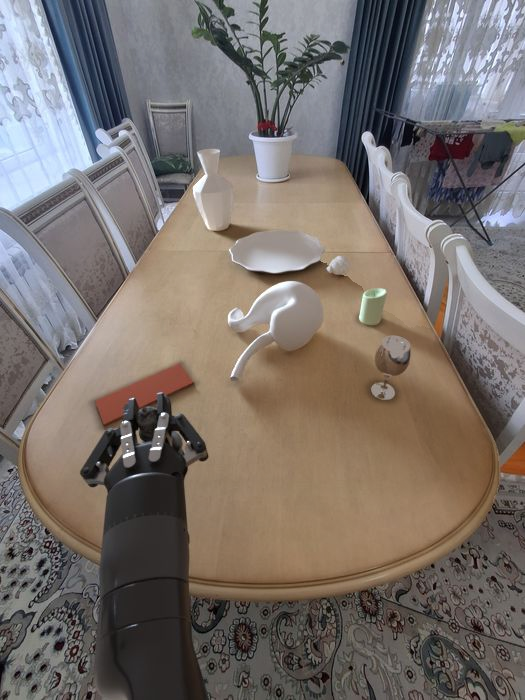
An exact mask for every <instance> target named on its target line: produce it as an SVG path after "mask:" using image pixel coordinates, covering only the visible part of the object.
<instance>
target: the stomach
mask: <svg viewBox="0 0 525 700" xmlns="http://www.w3.org/2000/svg"><path fill="white" fill-rule="evenodd" d="M324 319H325V311H324V305H323V302H322V300H321V298H320V296H319V295H318V293H316V291H315V290H314V289H312V288H311V287H310V286H309V285H307V284H304V283H303V282H300V281H294V280H287V281H282V282H278V283H276V284H274V285H273V286H271V287H269V288H268V289H266V290H265V291H263V293H261V294H260V295H259V296H258V297H257V298H256V300H254V302H253V304H252V306H251V308H250V310H249V311H248V313H247V314H246V315H244V313H243V311H242V310H241V309H240V308H238V307H235V308H234V309H232V310H231V311H230V312H229V313H228V316H227V323H228V326H229V327H230V329H231V330H232V331H233V332H235V333H244V332H247V331H248V330H249V329H251V328H252V327H254V326H255V325H269V330H268V331H267V332H265V333H263V334H261V335H259V336H258V337H257V338H255V340H253V341H252V342H251V343H250V345H249V346H247V348H246V349H245V350H244V352H242V354H241V355H240V357H239V358H238V360H237V362H236V364H235V366H234V367H233V370H232V372H231V374H230V377H229V380H230V381H231V382H234V383H237V382H239V380H240V378H241V376H242V374H243V371H244V369H245V367H246V365H247V364H248V362H249V361H250V359H251V358H252V356H254V354H256V353H257V352H258V351H260V350H261V349H263V348H265V347H268V346H270V345H271V344H273V342H275V343H276V345H277V346H278V347H280V348H281V349H283V350H285V351H287V352H292V351H293V352H294V351H296V350H299V349H301V348H302V347H304V346H305V345H307V344H308V343H309V342H310V340H312V338H313V337H314V335H316V333H317V332H318V331H319V330H320V328H321V327H322V325H323V323H324Z"/></svg>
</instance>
